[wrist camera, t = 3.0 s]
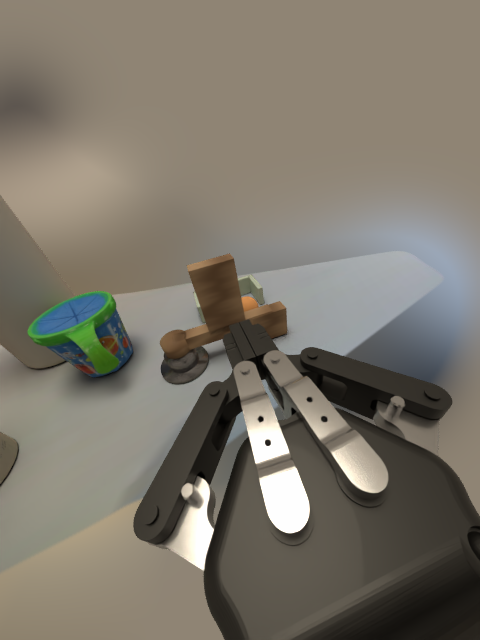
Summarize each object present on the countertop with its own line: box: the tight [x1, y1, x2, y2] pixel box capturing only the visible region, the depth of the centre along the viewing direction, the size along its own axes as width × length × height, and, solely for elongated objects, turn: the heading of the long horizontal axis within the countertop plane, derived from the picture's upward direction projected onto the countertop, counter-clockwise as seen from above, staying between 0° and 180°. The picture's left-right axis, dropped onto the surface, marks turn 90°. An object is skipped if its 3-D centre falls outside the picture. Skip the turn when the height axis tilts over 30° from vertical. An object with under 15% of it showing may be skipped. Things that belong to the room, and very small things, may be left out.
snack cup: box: [27, 291, 133, 377], centre depth 33 cm, size 16×10×10 cm
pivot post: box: [161, 346, 209, 384], centre depth 31 cm, size 7×7×3 cm
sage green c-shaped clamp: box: [193, 275, 264, 323], centre depth 41 cm, size 12×6×4 cm, turn 107°
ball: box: [241, 297, 258, 312], centre depth 37 cm, size 4×4×4 cm
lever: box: [160, 254, 287, 359], centre depth 29 cm, size 18×4×14 cm, turn 107°
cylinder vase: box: [0, 195, 76, 368], centre depth 34 cm, size 12×12×25 cm
